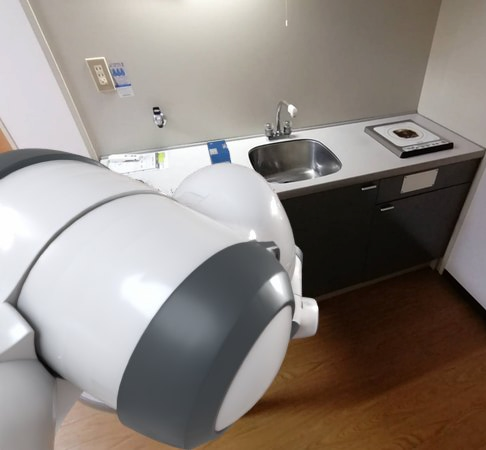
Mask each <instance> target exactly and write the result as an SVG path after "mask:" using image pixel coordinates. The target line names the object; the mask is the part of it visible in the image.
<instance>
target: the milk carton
mask: <svg viewBox="0 0 486 450" xmlns="http://www.w3.org/2000/svg"><path fill="white" fill-rule="evenodd" d="M206 145H207V150H208V154H209V159H210V165H213V164H218V163H232V159H231V158H232V157H231V153H230V150H229V147H228V145H227V142H226V140H225V139H222V140H214V141H209V142H206Z"/></svg>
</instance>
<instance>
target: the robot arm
mask: <svg viewBox="0 0 486 450" xmlns="http://www.w3.org/2000/svg"><path fill="white" fill-rule="evenodd" d="M135 179H136V178H133V177H131V176H128V175H126V174H123V173H120V172H118V171H116V170H115V171H114V170H111V168H109V167H108V166H107V165H105V164H104V163H101V162H100V161H98V160H96V159H93V158H91V157H88V156H84V155H80V154H78V153H77V154H76V153H74V152H73V153H72V152H68V151H64V150H58V149H53V148H52V149H51V148H42V147H41V148H40V147H39V148H38V147H35V148H34V147H33V148H32V147H31V148H30V147H28V148H17V149H12V150H11V149H10V150H7V151H4V152H0V450H55V441H56V436H57V434H58V432H59V430H60V428H61V427H62V424H63V423H64V421H65V419H66V418H67V416H68V414H69V413H70V411H71V410H72V408H73V407H74V406H75V404H76V402H77V401H78V400H79V398H80V397H81V396H82V394H84V393H86V394H87V395H89V396H91V397H93V398H94V399H95V400H97V401H99V402H101V403H102V404H104V405H106V406H107V407H110V408H111V409H113V410H116V415H117V418H118V420H119V422H120V423H121V424H122V426H124V427H126V428H128V429H130V430H132V431H134V432H136V433H138V434H140V435H141V436H143V437H146V438H148V439H151V440H153V441H155V442H157V443H160V444H164V445H168V446H170V447H173V448H176V449H180V450H193V449H196V448H198V447H201V446H203V445H206V444H208V443H210V442H213V441H215V440H217V439H219V438H220V437H222V436H223V435H224V434H225V433H226V432H228V430H230V428H231V427H232V426H233V425H234V424H235V422H236V421H238V420H239V419H240V418H242V417H243V416H244V415H245V414H246V413H248V411H250V410H251V409H252V408H253V407H254V406H255V405H256V404H257V403H258V401H260V399H261V398H262V397H263V396H264V395H265V394H266V392H267V390H268V389H269V388H270V386H271V385H272V383H273V382H274V380H275V379H276V377H277V375H278V373H279V371H280V369H281V366H282V364H283V362H284V359H285V357H286V355H287V351H288V348H289V343H290V341H291V340H297V339H303V338H310V337H313V336H315V335H316V334H317V331H318V329H319V321H320V320H319V319H320V314H319V306H318V303H317V300H315V299H314V298H311V297H306V296H303V294H302V293H303V292H302V291H303V290H302V289H303V287H302V286H303V285H302V283H303V282H302V275H303V273H302V269H303V258H304V254H303V252H302V250H301V249H300V247H298V245H296V243H295V238H294V233H293V228H292V226H291V223H290V220H289V217H288V215H287V213H286V211H285V210H286V209H285V208H284V206H283V204H282V202H281V200H280V198H279V196H278V197H277V195H278V194H277V192H276V191H275V192H276V193H275V192H274V190H275V189H274V188H273V187H272V186H271V184H270V183H269V182H268V180H267V179H266V178H265V177H263V176H262V175H261V174H260V173H258V172H257V171H256V170H254V169H252V168H251V167H248V166H246V165H242V164H238V163H234V162H233V163H232V162H231V163H218V164H213V165H212V164H210V165H209V164H208V165H205V166H204V167H201V168H199V169H197V170H195V171H193V172H192V173H190V174H189V175H188V176H186V178H184V179H183V180H182V181H181V182H180V183H179V185H178V186H177V187H176V188H175V189H174V191H173V194H172V195H170V194H168V193H165V192H163V191H161V190H159V189H157V188H155V187H153V186H152V185H149V184H147V183H145V182H144V183H142V182H140V181H138V180H139V179H137V180H135ZM273 189H274V190H273ZM276 194H277V195H276Z"/></svg>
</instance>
